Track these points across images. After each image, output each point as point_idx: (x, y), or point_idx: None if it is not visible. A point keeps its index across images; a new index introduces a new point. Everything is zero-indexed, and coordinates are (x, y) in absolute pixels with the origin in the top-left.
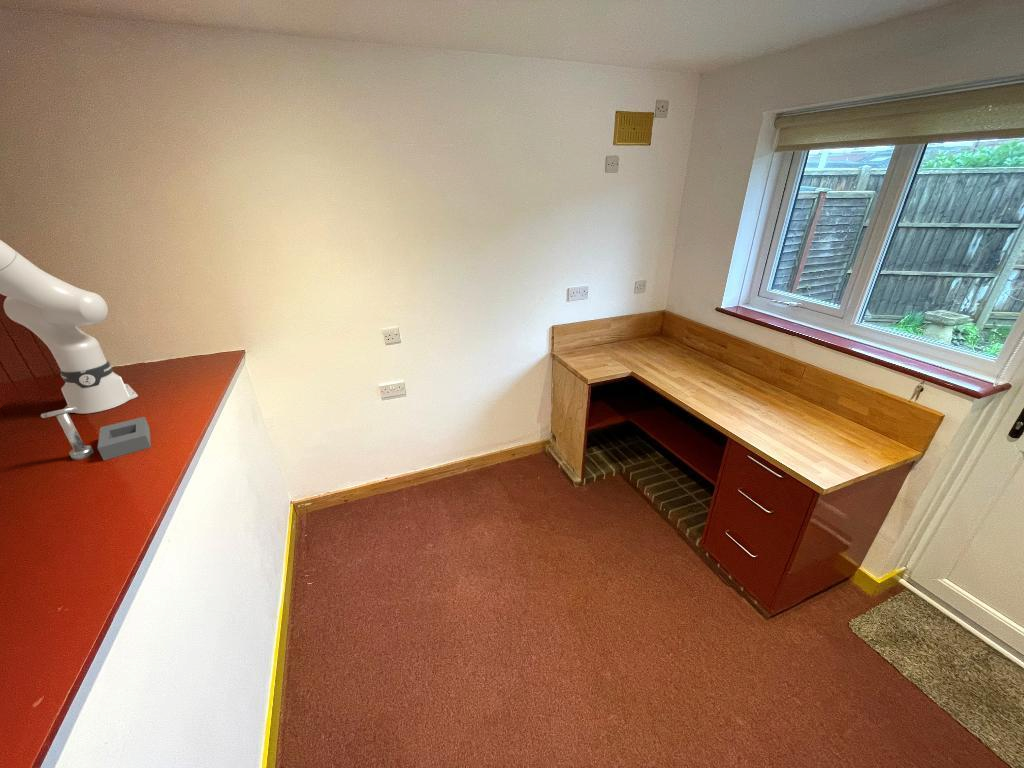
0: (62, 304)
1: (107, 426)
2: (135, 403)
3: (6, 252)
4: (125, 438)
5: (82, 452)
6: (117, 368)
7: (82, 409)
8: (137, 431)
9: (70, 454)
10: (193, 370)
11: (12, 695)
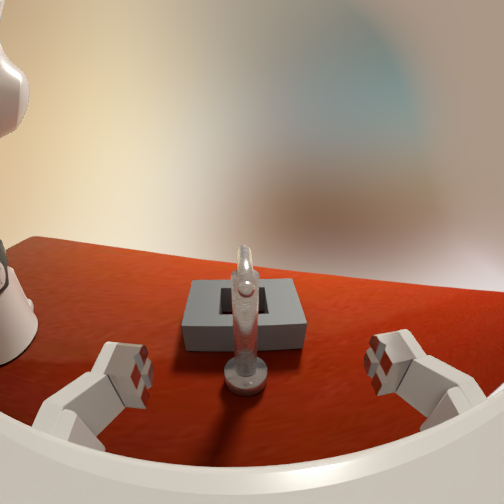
0: (2, 74)
1: (188, 317)
2: (53, 309)
3: None
4: (286, 296)
5: (265, 364)
6: None
7: (6, 351)
8: (263, 286)
9: (257, 383)
10: (26, 260)
11: None
